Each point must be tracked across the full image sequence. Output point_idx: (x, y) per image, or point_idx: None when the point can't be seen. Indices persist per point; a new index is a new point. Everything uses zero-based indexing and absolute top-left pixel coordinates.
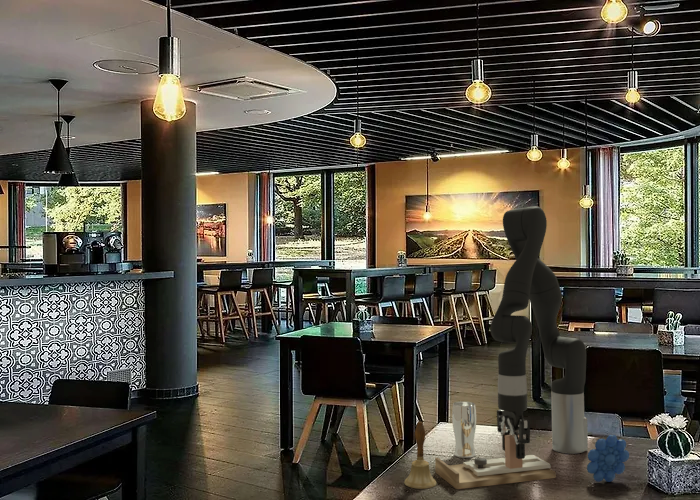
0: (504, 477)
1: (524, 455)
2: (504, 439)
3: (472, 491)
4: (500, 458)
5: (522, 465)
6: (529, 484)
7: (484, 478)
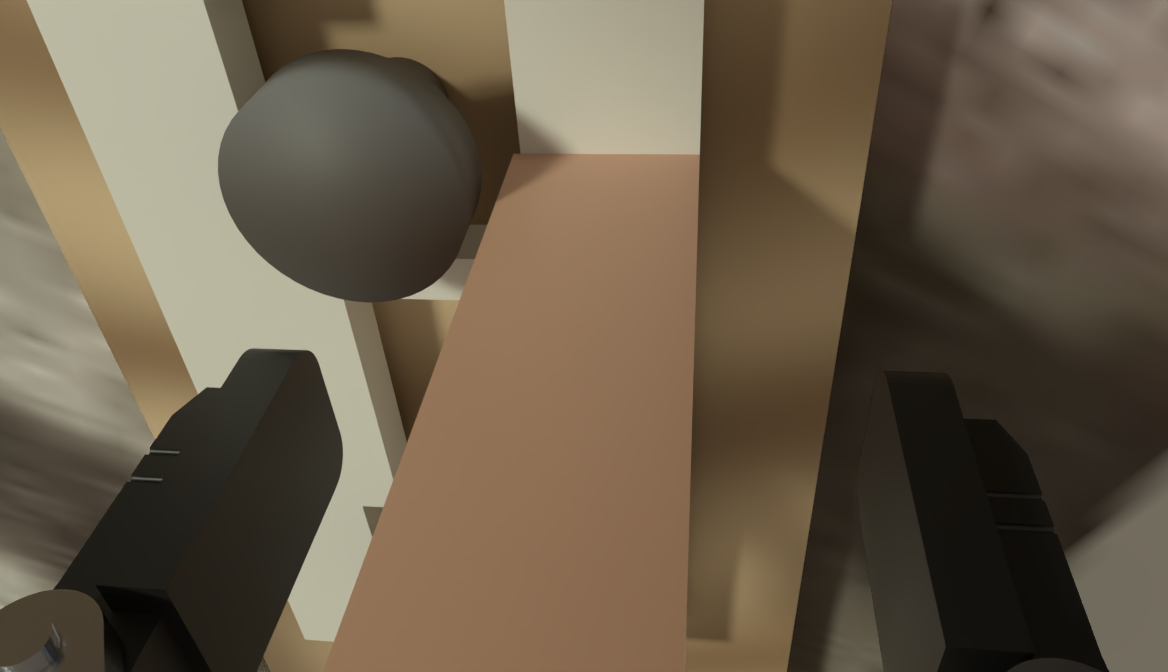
0: (810, 427)
1: (1014, 446)
2: (248, 651)
3: (873, 662)
4: (150, 255)
5: (698, 171)
6: (1005, 115)
7: (747, 589)
